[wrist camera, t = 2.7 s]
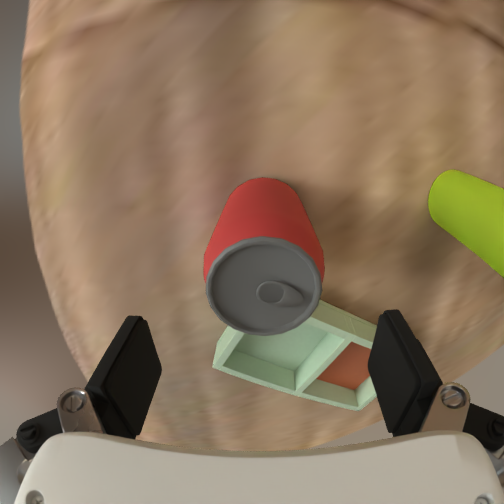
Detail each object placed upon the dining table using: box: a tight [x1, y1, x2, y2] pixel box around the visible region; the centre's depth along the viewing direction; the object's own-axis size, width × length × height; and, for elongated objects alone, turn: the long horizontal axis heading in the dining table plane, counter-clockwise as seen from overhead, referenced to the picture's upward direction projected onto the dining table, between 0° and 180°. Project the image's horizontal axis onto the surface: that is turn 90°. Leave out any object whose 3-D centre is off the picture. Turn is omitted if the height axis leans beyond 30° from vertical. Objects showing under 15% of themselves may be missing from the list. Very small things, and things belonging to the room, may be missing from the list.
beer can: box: [204, 177, 325, 336], centre depth 19 cm, size 7×7×12 cm
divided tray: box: [213, 300, 377, 411], centre depth 29 cm, size 19×10×4 cm, turn 63°
